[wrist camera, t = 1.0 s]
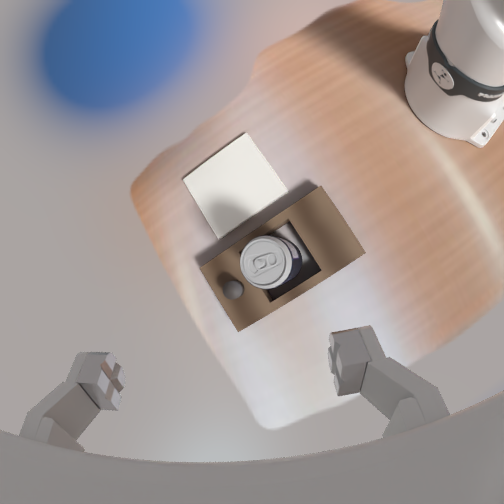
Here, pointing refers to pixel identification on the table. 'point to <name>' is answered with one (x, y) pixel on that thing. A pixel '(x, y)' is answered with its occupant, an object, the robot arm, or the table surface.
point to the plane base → (315, 238)
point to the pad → (234, 185)
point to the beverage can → (270, 261)
